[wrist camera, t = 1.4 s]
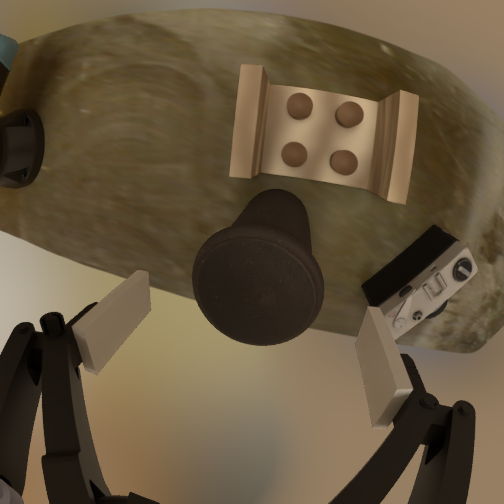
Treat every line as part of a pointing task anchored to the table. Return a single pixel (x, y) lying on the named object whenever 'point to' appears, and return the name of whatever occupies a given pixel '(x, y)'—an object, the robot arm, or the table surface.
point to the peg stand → (323, 135)
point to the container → (261, 273)
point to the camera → (420, 280)
